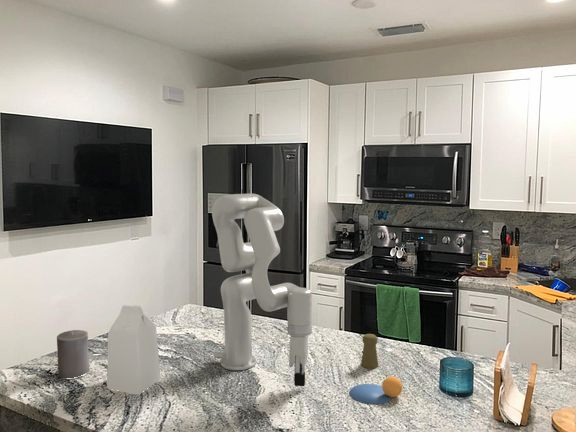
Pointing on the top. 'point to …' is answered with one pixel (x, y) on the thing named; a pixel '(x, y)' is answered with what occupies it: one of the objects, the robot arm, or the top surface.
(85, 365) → the pillar candle
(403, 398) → the top surface
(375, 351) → the olive chess pawn
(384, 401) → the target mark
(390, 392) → the ball
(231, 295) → the robot arm
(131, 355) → the milk
